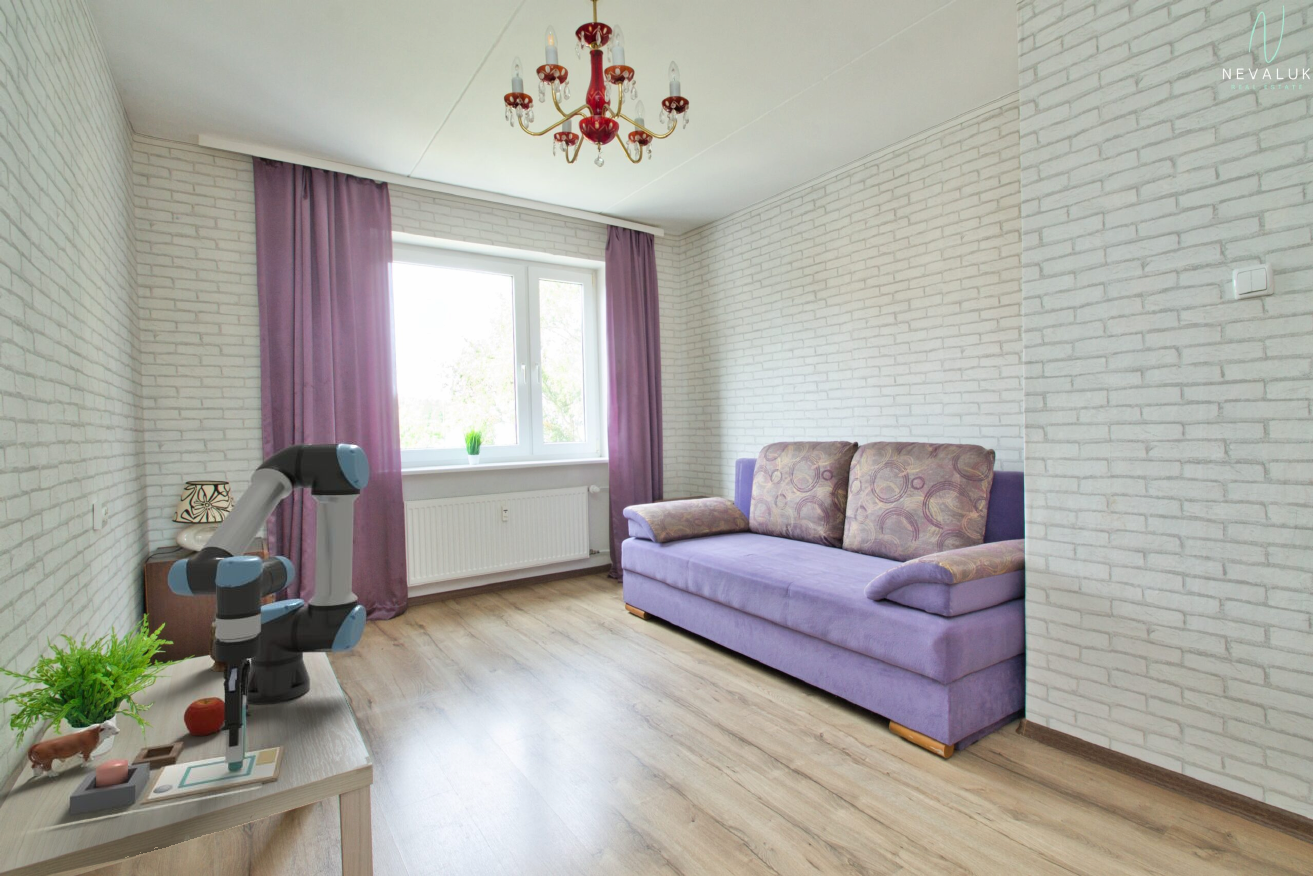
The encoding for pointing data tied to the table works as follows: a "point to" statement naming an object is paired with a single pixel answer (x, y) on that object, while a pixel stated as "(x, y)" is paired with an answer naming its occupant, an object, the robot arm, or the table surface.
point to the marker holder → (159, 755)
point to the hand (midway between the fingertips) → (235, 756)
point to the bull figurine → (69, 747)
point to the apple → (205, 716)
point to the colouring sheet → (214, 775)
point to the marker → (239, 764)
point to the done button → (111, 773)
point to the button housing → (109, 791)
